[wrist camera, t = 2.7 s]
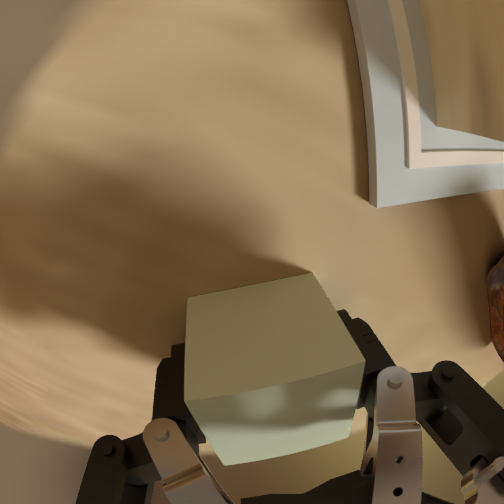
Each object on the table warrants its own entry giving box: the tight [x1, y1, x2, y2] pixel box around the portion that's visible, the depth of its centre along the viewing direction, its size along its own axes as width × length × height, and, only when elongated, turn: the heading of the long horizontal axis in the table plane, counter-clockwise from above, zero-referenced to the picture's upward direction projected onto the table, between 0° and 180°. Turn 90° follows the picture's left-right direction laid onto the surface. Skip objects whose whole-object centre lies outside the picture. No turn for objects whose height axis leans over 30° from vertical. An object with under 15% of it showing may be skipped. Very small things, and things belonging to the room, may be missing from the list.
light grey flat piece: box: [347, 0, 504, 208], centre depth 8 cm, size 12×12×1 cm
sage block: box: [184, 272, 366, 465], centre depth 11 cm, size 5×5×5 cm
